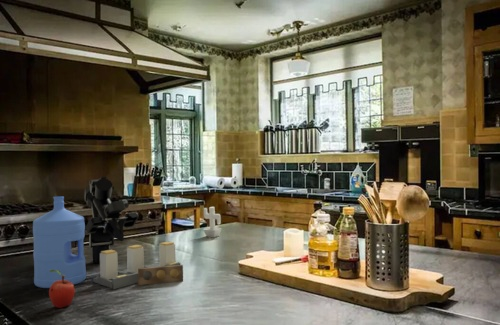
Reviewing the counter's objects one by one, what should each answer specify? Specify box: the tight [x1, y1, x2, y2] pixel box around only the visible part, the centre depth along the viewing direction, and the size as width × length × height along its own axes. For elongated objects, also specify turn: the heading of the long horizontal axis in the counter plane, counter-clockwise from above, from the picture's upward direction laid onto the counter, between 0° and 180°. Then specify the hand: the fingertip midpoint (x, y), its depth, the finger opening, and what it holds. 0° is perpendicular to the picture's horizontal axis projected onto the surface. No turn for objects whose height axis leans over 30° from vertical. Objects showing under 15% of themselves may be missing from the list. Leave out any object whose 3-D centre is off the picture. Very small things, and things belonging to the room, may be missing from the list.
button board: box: [93, 261, 181, 290], centre depth 144 cm, size 12×26×3 cm, turn 138°
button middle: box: [126, 244, 145, 273], centre depth 145 cm, size 4×4×9 cm
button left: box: [99, 249, 119, 280], centre depth 138 cm, size 4×4×9 cm
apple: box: [48, 270, 76, 309], centre depth 115 cm, size 8×7×10 cm
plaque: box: [137, 264, 184, 286], centre depth 136 cm, size 14×2×5 cm, turn 103°
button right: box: [158, 241, 177, 266], centre depth 150 cm, size 4×4×9 cm
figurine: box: [202, 206, 223, 238], centre depth 217 cm, size 7×9×15 cm
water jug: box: [32, 195, 87, 289], centre depth 139 cm, size 16×16×28 cm
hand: (122, 240), depth 151 cm, fingers closed
